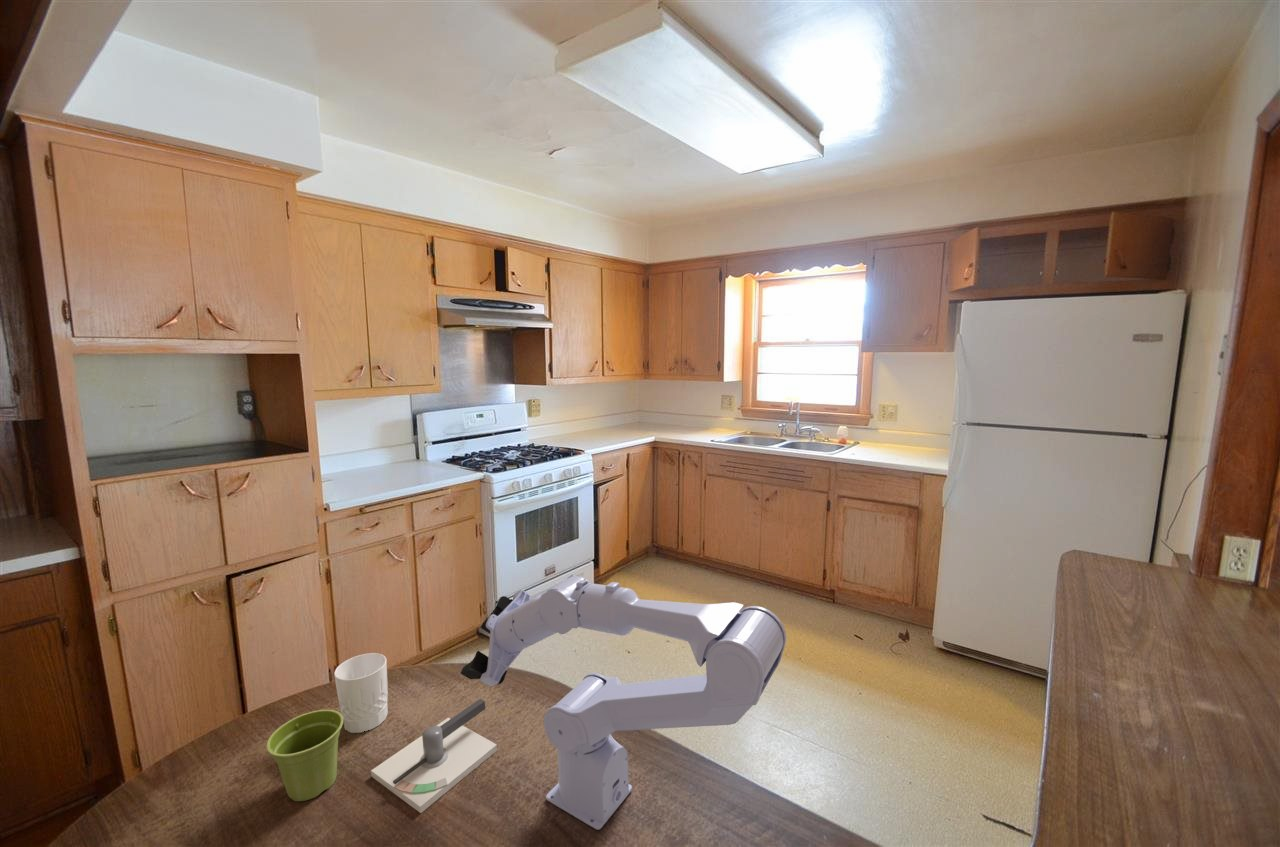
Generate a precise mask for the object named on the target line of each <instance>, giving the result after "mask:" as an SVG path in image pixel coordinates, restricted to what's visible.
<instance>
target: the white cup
mask: <svg viewBox="0 0 1280 847" xmlns="http://www.w3.org/2000/svg"><path fill="white" fill-rule="evenodd" d="M387 668H388V664H387V657H386V656H385V655H384V654H381V653H377V652H376V653H375V652H369V653H363V654H359V655H355V656H353V657H351V658H350V657H349V658H347V659H346V660H345V661H343V662H342V663H339V665H338V666H337V667H336V668H335V670H334V672H333V675H334V680H335V681H334V682H335V689H336V695H337V699H338V705H339V709H340V714H341V715H342V717H343V728H344V731H346V730H347V732H348V733H350V734H360V733H365V732H369V731H371V730H372V729H375V728H376V727H379V726H380V725H381V724H382V723H383V722H384V721H386V718H387V717H388V713H389V710H388V696H389V693H388V686H389V685H388V669H387ZM368 730H369V731H368ZM364 731H365V732H364Z"/></svg>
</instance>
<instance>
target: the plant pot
mask: <svg viewBox="0 0 1280 847" xmlns="http://www.w3.org/2000/svg"><path fill="white" fill-rule="evenodd" d="M343 726H344V724H343V717H342V714H341V712H339V711H337V710H334V709H319V710H314V711H310V712H306V713H303V714H300V715H298V716H296V717H293V718H292V719H290V720H289V721H286V722H285V723H283V724H282V725H280V726H279V727H278V728H277V729H276V730H274V732H273V733H271V735H270V736H269V738H268V740H267V742H266V750H267V753H268V754H269V755H270V756H272V758H273V759H274V761H275V762H276V764H277V767H278V769H279V773H280V775H281V778H282V781H283V784H284V787H285V790H286V793H287V794H286V795H287V796H288V797H289V798H290V799H291V800H292V801H294V802H304V801H308V800H312V799H314V798H317V797H318V796H319V795H321V793H323V792H324V791H325V790H329V789H330V788H331V787H332V786H333V785H334V783H335V781H336V780H337V776H338V774H337V772H338V754H339V752H338V750H339V749H338V748H339V737H340V733H341V729H342V727H343Z"/></svg>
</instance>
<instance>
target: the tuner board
mask: <svg viewBox="0 0 1280 847" xmlns="http://www.w3.org/2000/svg"><path fill="white" fill-rule="evenodd" d="M450 719H451V718H450V717H447V718H446V719H444V720H442V721H441V722H439V723H438V724H437V725H436V726H439V727H440V726H441V725H443V724H444V723H446V722H447V721H449V720H450ZM443 748H444V756H443V758H442V759H441V760H439V761H438V762H436V763H431V764H430V763H426V762H425V763H424V764H422V765H421V766H419V767H418V768H417V769H415V770H414V771H413V772H411V773H410V774H409V775H407V776H406V777H405V778H403V779H402V780H400V781H399V782H398V783H396V784H394V783H393V781H394V780H395V779H396V778H398V777H399V776H401V775H402V774H403V773H405V772H406V771H407V770H409V769H410V768H411V767H413V766H414V765H416V764H417V763H418V762H420V761H421V760H422V759H424V750H423V738H422V735H421V736H419V737H418V738H416V739H415V740H414V741H412V742H410V743H409V744H408V745H406V746H405V747H403V748H402V749H400V750H399V751H397V752H396V753H394V754H393V755H392V756H390V757H388V758H387V759H385V760H384V761H383V762H382V763H380V764H378V765H377V766H375V767H374V768H373V769H370V774H371V775H370V776H371V778H372V779H374V780H375V781H377V782H378V783H380V785H382V786H383V787H385V788H386V789H387V790H389V791H390V792H391V793H393V795H395V796H397V797H398V798H400V799H401V800H402V801H404V802H405V803H406V804H408V806H410V807H412V808H413V809H414V810H416V811H417V812H418V813H420V814H422V813H423V812H424V811H426V809H428V808H430V806H431V805H433V804H434V803H435V802H436V801H437V800H439V799H440V798H442V796H443V795H446V793H447V792H448V791H450V790H451V789H452V788H453V787H454V786H456V785H458V783H460V782H461V781H462V780H463V779H464V778H466V777H467V776H468V775H469V774H470V773H472V772H473V771H475V769H476V768H478V767H479V766H480V765H482V763H484V762H485V761H486V760H488V759H489V758H490V757H491V756H492V755H493V754H495V753H496V752H497V751H498V744H497V743H494V742H493V741H491V740H489V739H488V738H486V737H485V736H482V735H480V734H478V733H477V732H475V731H473V730H472V729H470V728H468V727H466V726H464V725H462V726H461V727H460V728H458V729H457V730H455V731H454V732H453V733H451V734H450V735H448V736H447V737H446V738H444V739H443Z"/></svg>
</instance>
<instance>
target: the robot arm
mask: <svg viewBox="0 0 1280 847" xmlns="http://www.w3.org/2000/svg"><path fill="white" fill-rule="evenodd" d="M531 597H532V595H531V594H529V593H528V592H526V590H524V589H520V590H518V591H516V592H514V594H513V596H512V598H511V599H510V598H509V597H507V596H504V595H503V596H500V597H499V600H498V601H497V603H496V606H495V607H494V609H493V610H492V611H491V613H490V614H489V616H488V617H486V619H484V621H483V622H482V623H481V625H480V629H481V630H484V632H486V633H488V634H489V648H488V656H487V655H486V654H485V653H482V652H481V651H480V650H477V651H476V653H475V655H474V658H473V659H472V660H471V661H470V662H469V663H467V664H465V666H463V668H462V669H461V671H460V675H462V676H463V677H466V678H467V679H469V680H479V681H480V682H481V683H483V684H485V685H486V686H488V687H490V688H491V687H494V686H496V685H500V684H503V682H504V680H505V679H506V675H507V673H508V671H507V670H508V668H509V667H510V666H511V665H512V663H514V661H515V660H516V659H517V657H518V656H519V655H520V653H521V652H522V651H523V650H524V649H527V648H529V647H530V646H533V645H535V644H537V643H539V642H541V641H543V640H546V639H547V638H549V637H551V636H554V635H555V634H559V635H565V634H567V633H569V632H570V631H571V630H572V629H577V628H581V629H585V630H586V629H587V630H592V631H596V632H602V633H606V634H612V635H618V636H627V635H628V634H630V633H631V632H632V631H633V630H634V629H638V630H642V631H646V632H650V633H652V634H653V633H654V634H657V635H661V636H664V637H668V638H673V639H677V640H681V641H684V642H687V643H688V644H689V646H690V649H691V651H692V655H693V656H694V659H695V662H696V664H697V666H699V667H700V668H701V667H703V665H705V671H706V674H698V675H689V676H682V677H672V678H664V679H656V680H655V679H653V680H645V681H638V682H636V681H635V682H630V683H622V682H621V681H620V679H619V677H617V676H606V675H603V674H601V673H598V672H590V673H587V674H586V675H585V676H584V677H583V679H582V680H581V681H580V682H579V683H578V684H576V685H575V687H574V688H573V689H571V690H570V691H569V692H568V693H567V694H566V695H564V696H563V698H561V699H560V700H559V701H558V702H557V703H555V705H553V706H551V707H549V708H548V709H547V710H546V712H545V713H544V715H543V728H544V730H545V735H546V737H547V739H548V740H549V742H550V744H551V745H552V746H553V747H554V748H555V749H556V750H557V751H556V752H557V766H558V767H557V772H558V783H557V784H555V785H554V787H553V788H551V789H550V791H549V792H548V793H547V794H546V795H545V800H546V801H547V802H549V803H552V804H553V806H556V807H558V808H559V809H560V810H563V811H565V812H566V813H568V814H569V815H571V816H573V817H575V818H576V819H578V820H580V821H581V822H583V823H585V824H586V825H588V826H589V827H591V828H593V829H595V830H601V829H602V828H603V827H604V825H605V824H606V823H607V822H608V821H609V819H610V818H611V817H612V816H613V814H614V813H615V812H616V810H617V809H618V808H619V807H620V805H621V804H622V803H623V802H624V800H625V799H626V798H627V797H628V795H630V793H631V792H632V790H633V786H632V785H631V784H630V783H629V759H628V758H629V757H628V756H629V755H628V751H627V750H626V748H625V747H624V746H623V745H622V744H620V743H618V742H617V741H616V740H615V738H613V736H612V734H613V733H614V732H618V731H620V732H621V731H638V730H640V731H641V730H657V729H658V730H659V729H660V730H661V729H676V728H677V729H678V728H695V727H699V728H700V727H715V726H732V725H736V724H737V723H738V722H739V721H740V720H741V719H742V717H743V716H745V714H746V713H747V712H749V710H750V709H751V708H752V707H753V706H756V705H757V704H758V702H759V701H760V698H761V696H762V694H763V692H764V690H765V689H766V686H767V685H768V683H769V682H770V680H771V678H772V676H773V674H775V672H776V669H777V667H778V666H779V665H780V663H781V660H782V657H783V654H784V651H785V647H786V643H787V633H786V629H785V627H784V625H783V622H782V621H781V619H780V618H779V617H778V616H777V615H776V614H775V613H774V612H773V611H771V610H769V609H767V608H765V607H762V606H758V605H751V606H747V607H746V606H745V605H744V604H742V603H738V602H733V601H732V602H721V603H719V602H718V603H694V602H683V601H681V602H680V601H668V600H652V599H643V598H641V599H640V598H639V596H638V595H637V592H635V590H633V589H631V588H629V587H622V586H621V585H620V583H619V582H615V581H611V582H610V583H608V584H607V585H605V584H600V583H599V584H598V583H592V582H590V581H589V580H588V579H586V578H584V577H583V576H578V575H574V574H571V575H569V576H568V577H567V578H566V579H565V580H563V581H561V582H559V583H558V584H556V585H555V586H553V587H552V588H550V589H548V590H547V591H545V592H543V593H540V594H538V595H536V596H535V597H532V598H531ZM744 606H745V607H744Z"/></svg>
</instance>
